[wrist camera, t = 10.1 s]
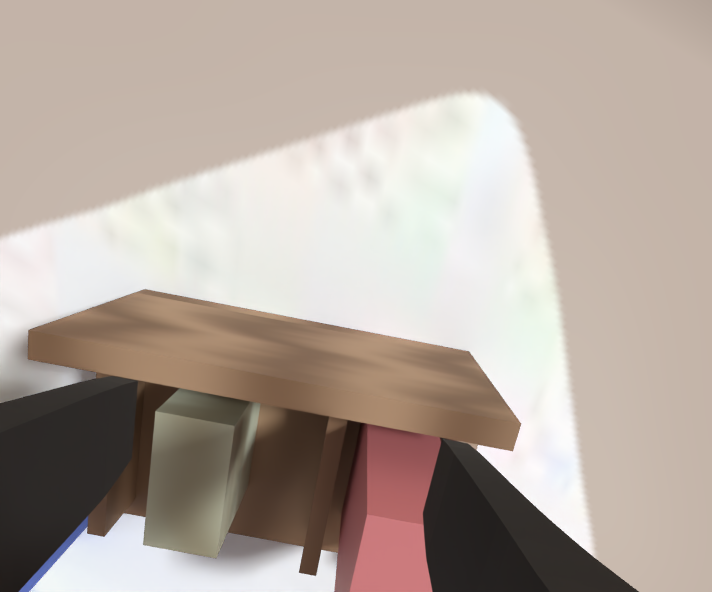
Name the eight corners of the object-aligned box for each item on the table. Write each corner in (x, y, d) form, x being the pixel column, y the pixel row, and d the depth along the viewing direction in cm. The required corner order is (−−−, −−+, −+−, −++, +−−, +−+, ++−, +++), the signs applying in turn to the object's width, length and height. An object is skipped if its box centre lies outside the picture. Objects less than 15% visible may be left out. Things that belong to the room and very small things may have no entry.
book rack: (127, 501, 22) (22, 627, 15) (144, 289, 19) (28, 330, 13) (415, 554, 22) (435, 702, 15) (469, 351, 20) (521, 424, 13)
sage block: (190, 475, 21) (143, 544, 16) (202, 366, 19) (155, 411, 15) (248, 485, 21) (216, 558, 16) (264, 378, 19) (234, 426, 15)
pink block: (341, 514, 21) (325, 698, 13) (367, 391, 19) (367, 514, 11) (398, 525, 21) (416, 715, 13) (428, 403, 19) (470, 533, 11)
